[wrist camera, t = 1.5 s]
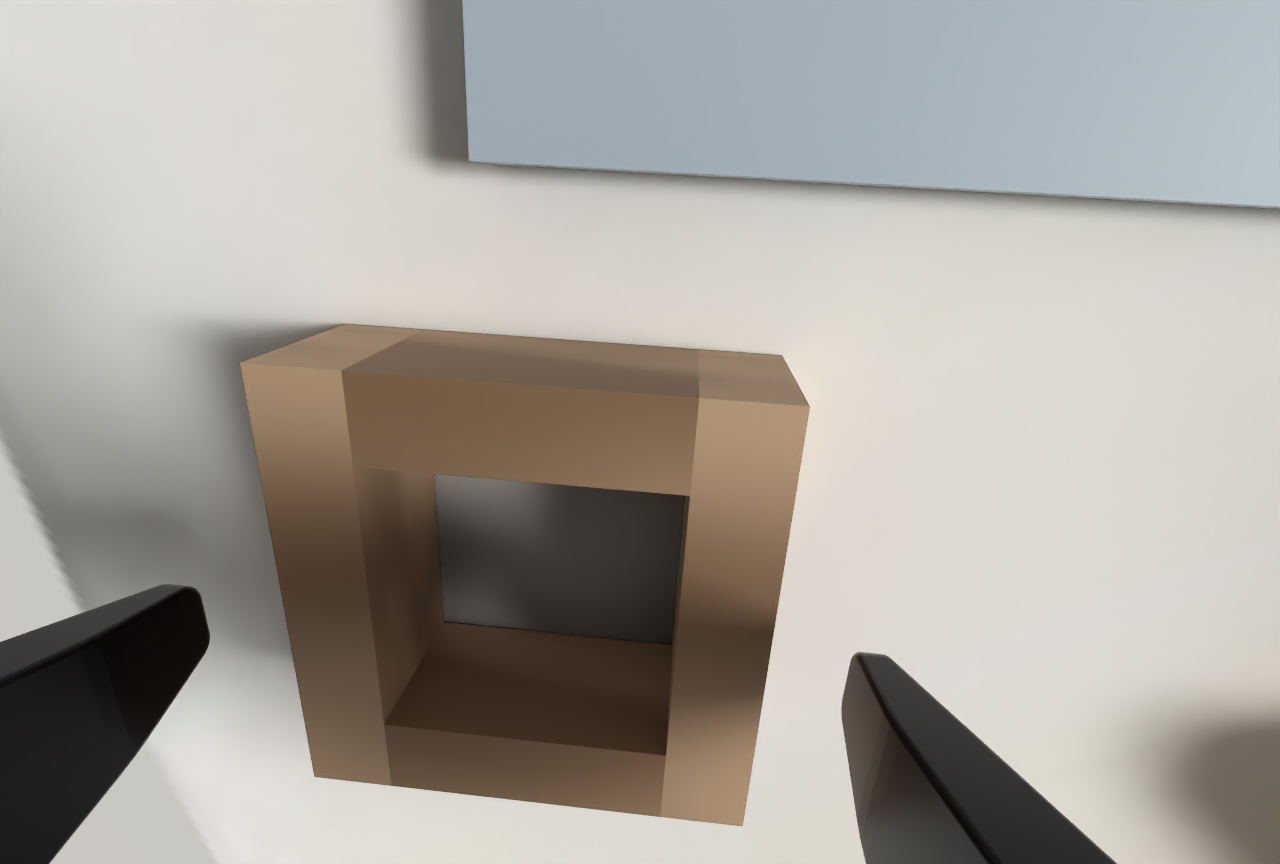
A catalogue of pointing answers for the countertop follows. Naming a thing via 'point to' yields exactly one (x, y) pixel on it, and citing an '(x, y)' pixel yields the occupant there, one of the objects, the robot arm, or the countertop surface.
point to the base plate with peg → (889, 93)
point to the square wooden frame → (508, 658)
